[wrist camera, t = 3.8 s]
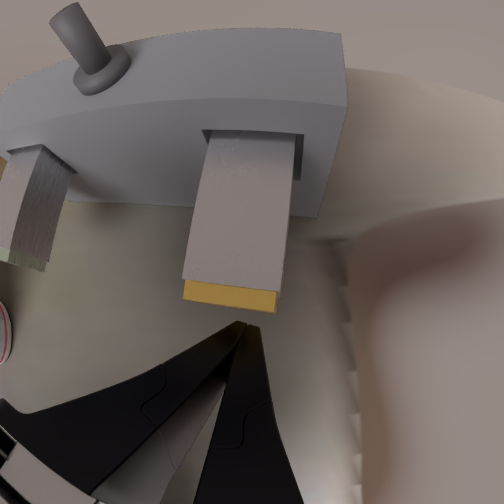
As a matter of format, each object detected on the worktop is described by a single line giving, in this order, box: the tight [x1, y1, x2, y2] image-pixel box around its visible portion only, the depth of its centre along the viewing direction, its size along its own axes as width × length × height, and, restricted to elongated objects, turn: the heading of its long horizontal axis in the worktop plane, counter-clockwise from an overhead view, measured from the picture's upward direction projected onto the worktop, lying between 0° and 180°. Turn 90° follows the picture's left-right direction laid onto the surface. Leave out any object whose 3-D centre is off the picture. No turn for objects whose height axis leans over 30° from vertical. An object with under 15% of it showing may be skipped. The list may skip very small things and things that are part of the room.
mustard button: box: [182, 130, 297, 314], centre depth 11 cm, size 8×3×3 cm, turn 172°
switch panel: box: [0, 2, 348, 218], centre depth 12 cm, size 4×18×14 cm, turn 82°
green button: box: [0, 144, 74, 272], centre depth 12 cm, size 8×3×3 cm, turn 172°
